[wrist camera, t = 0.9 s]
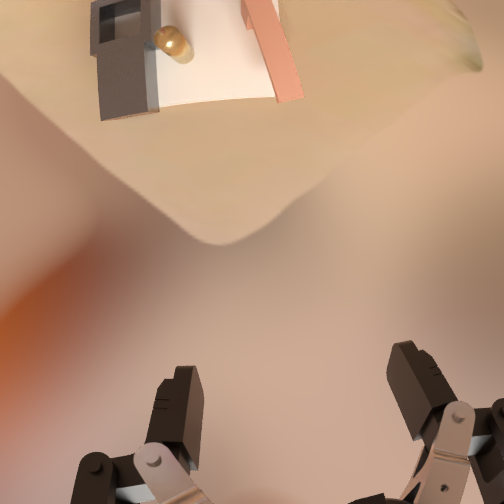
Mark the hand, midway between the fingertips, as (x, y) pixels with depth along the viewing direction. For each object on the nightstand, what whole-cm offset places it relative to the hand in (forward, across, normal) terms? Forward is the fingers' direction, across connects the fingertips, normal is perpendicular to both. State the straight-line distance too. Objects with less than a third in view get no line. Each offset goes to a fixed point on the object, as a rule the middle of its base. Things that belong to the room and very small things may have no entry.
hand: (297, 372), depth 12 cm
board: (+22, +6, -17) cm, 29 cm away
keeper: (+22, -2, -15) cm, 27 cm away
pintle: (+22, +6, -16) cm, 28 cm away
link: (+22, +11, -17) cm, 30 cm away
